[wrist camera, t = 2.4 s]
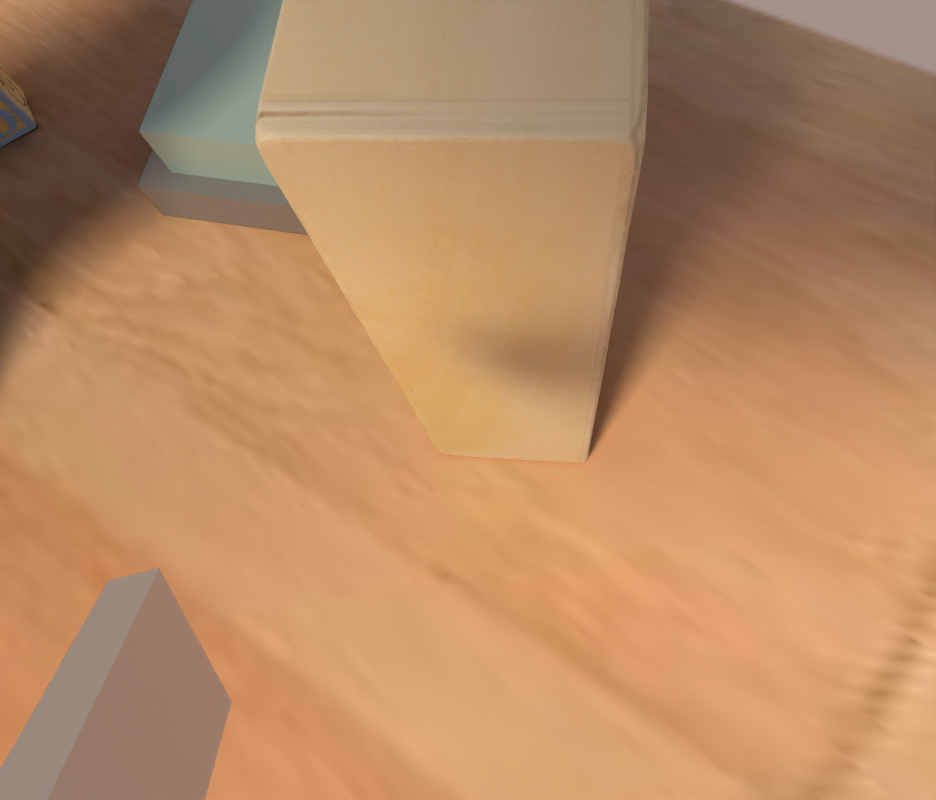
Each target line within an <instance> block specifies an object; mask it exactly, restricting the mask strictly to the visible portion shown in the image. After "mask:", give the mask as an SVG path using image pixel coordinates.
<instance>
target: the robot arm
mask: <svg viewBox="0 0 936 800" xmlns="http://www.w3.org/2000/svg"><path fill="white" fill-rule="evenodd" d="M230 705H231V700H230V698H229V696H228V694H227V693H226V691H225V689H224V687H223V685H222V683H221V681H220V680H219V678H218V676H217V674H216V672H215V670H214V669H213V667H212V665H211V663H210V661H209V659H208V657H207V656H206V654H205V652H204V650H203V648H202V646H201V644H200V643H199V641H198V639H197V637H196V635H195V633H194V632H193V630H192V628H191V626H190V624H189V622H188V620H187V619H186V617H185V615H184V613H183V611H182V609H181V608H180V606H179V604H178V602H177V600H176V598H175V596H174V595H173V593H172V591H171V589H170V587H169V585H168V583H167V582H166V580H165V578H164V576H163V574H162V572H161V571H160V569H155V570H151V571H147V572H143V573H139V574H135V575H130V576H126V577H122V578H118V579H114V580H110V581H108V582H107V584H106V585H105V587H104V589H103V591H102V592H101V594H100V596H99V598H98V599H97V601H96V603H95V605H94V606H93V608H92V610H91V612H90V613H89V615H88V617H87V619H86V620H85V622H84V624H83V626H82V627H81V629H80V631H79V633H78V634H77V636H76V638H75V640H74V641H73V643H72V645H71V647H70V648H69V650H68V652H67V654H66V655H65V657H64V659H63V661H62V662H61V664H60V666H59V668H58V669H57V671H56V673H55V675H54V676H53V678H52V680H51V682H50V683H49V685H48V687H47V689H46V690H45V692H44V694H43V696H42V697H41V699H40V701H39V703H38V704H37V706H36V708H35V710H34V711H33V713H32V715H31V717H30V718H29V720H28V722H27V724H26V725H25V727H24V729H23V731H22V732H21V734H20V736H19V738H18V739H17V741H16V743H15V745H14V746H13V748H12V750H11V752H10V753H9V755H8V757H7V759H6V760H5V762H4V764H3V766H2V767H1V769H0V800H205V797H206V793H207V790H208V786H209V782H210V779H211V775H212V771H213V768H214V764H215V760H216V756H217V753H218V749H219V745H220V742H221V738H222V734H223V731H224V727H225V723H226V720H227V716H228V712H229V709H230Z"/></svg>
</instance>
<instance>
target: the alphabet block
mask: <svg viewBox="0 0 936 800" xmlns="http://www.w3.org/2000/svg"><path fill="white" fill-rule="evenodd" d="M35 128H36V122H35V120H34V117H33V115H32V112H31V110H30V107H29V105H28V102H27V100H26V97H25V95H24V92H23V90H22V89H21V88H20V87H19V86H18V85H17V84H16V83H15V82H14V81H13V80H12V79H11V78H10V77H9V76H8V75H7V74H6V73H5V72H4V71H3V70H2V69H1V68H0V147H2V146H4V145H5V144H7V143H9V142H11V141H13V140H15V139H16V138H18V137H20V136H22V135H24V134H26V133H27V132H29V131H31V130H33V129H35Z"/></svg>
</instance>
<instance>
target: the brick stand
mask: <svg viewBox="0 0 936 800" xmlns="http://www.w3.org/2000/svg"><path fill="white" fill-rule="evenodd" d="M282 2H283V0H193V1H192V4H191V6H190V8H189V11H188V13H187V16H186V18H185V21H184V23H183V25H182V28H181V30H180V33H179V35H178V37H177V40H176V42H175V45H174V47H173V49H172V52H171V54H170V57H169V59H168V62H167V64H166V66H165V69H164V71H163V74H162V76H161V78H160V81H159V83H158V86H157V88H156V91H155V93H154V95H153V98H152V100H151V103H150V105H149V107H148V110H147V112H146V115H145V117H144V119H143V122H142V124H141V127H140V129H139V133H140V134H141V135H142V136H143V138H144V139H145V140H146V141H147V143H148V144H149V145H150V146H151V147H152V151H151V153H150V156H149V158H148V161H147V163H146V166H145V168H144V171H143V173H142V176H141V178H140V181H139V183H138V186H137V187H138V188H139V189H140V190H141V191H142V192H143V193H144V194H145V195H146V197H147V198H148V199H149V200H150V201H151V202H152V203H153V204H154V205H155V206H156V208H157V209H158V210H159V211H160V212H161V213H162V214H163V215H167V216H175V217H182V218H189V219H196V220H204V221H211V222H218V223H225V224H233V225H240V226H247V227H254V228H261V229H269V230H276V231H283V232H290V233H298V234H305V235H308V233H307V231H306V230H305V228H304V226H303V225H302V223H301V221H300V220H299V218H298V217H297V215H296V213H295V212H294V210H293V209H292V207H291V205H290V204H289V202H288V200H287V199H286V197H285V196H284V194H283V192H282V191H281V189H280V187H279V185H278V184H277V182H276V180H275V179H274V177H273V176H272V174H271V172H270V171H269V169H268V167H267V165H266V164H265V162H264V160H263V159H262V157H261V154H260V152H259V150H258V148H257V145H256V141H255V122H256V116H257V110H258V104H259V100H260V95H261V91H262V87H263V82H264V78H265V73H266V69H267V65H268V61H269V57H270V52H271V48H272V44H273V40H274V35H275V31H276V27H277V23H278V19H279V14H280V10H281V6H282Z"/></svg>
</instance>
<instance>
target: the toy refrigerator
mask: <svg viewBox="0 0 936 800" xmlns="http://www.w3.org/2000/svg"><path fill="white" fill-rule="evenodd" d="M648 34H649V0H283V2H282V6H281V10H280V14H279V19H278V23H277V27H276V31H275V35H274V40H273V44H272V48H271V52H270V57H269V61H268V65H267V69H266V73H265V78H264V82H263V87H262V91H261V95H260V100H259V104H258V110H257V116H256V122H255V141H256V145H257V148H258V150H259V152H260V154H261V157H262V159H263V160H264V162H265V164H266V165H267V167H268V169H269V171H270V172H271V174H272V176H273V177H274V179H275V180H276V182H277V184H278V185H279V187H280V189H281V191H282V192H283V194H284V196H285V197H286V199H287V200H288V202H289V204H290V205H291V207H292V209H293V210H294V212H295V213H296V215H297V217H298V218H299V220H300V221H301V223H302V225H303V226H304V228H305V230H306V231H307V233H308V235H309V236H310V238H311V240H312V242H313V243H314V245H315V247H316V248H317V250H318V252H319V253H320V255H321V257H322V258H323V260H324V262H325V264H326V265H327V267H328V269H329V270H330V272H331V274H332V275H333V277H334V279H335V280H336V282H337V284H338V285H339V287H340V289H341V291H342V292H343V294H344V296H345V297H346V299H347V301H348V302H349V304H350V306H351V307H352V309H353V311H354V312H355V314H356V315H357V317H358V319H359V320H360V322H361V324H362V325H363V327H364V328H365V330H366V332H367V333H368V335H369V336H370V338H371V340H372V341H373V343H374V345H375V347H376V348H377V350H378V352H379V353H380V355H381V357H382V358H383V360H384V361H385V363H386V365H387V366H388V368H389V370H390V371H391V373H392V375H393V376H394V378H395V379H396V381H397V383H398V384H399V386H400V388H401V389H402V391H403V393H404V395H405V396H406V398H407V400H408V401H409V403H410V405H411V406H412V408H413V410H414V412H415V413H416V415H417V417H418V418H419V420H420V422H421V423H422V425H423V427H424V429H425V430H426V432H427V434H428V436H429V438H430V439H431V441H432V443H433V444H434V446H435V448H436V450H437V451H438V452H440V453H443V454H449V455H461V456H471V457H487V458H503V459H519V460H535V461H551V462H569V463H585V462H586V461H587V459H588V454H589V448H590V443H591V437H592V432H593V426H594V421H595V416H596V411H597V405H598V400H599V395H600V390H601V385H602V379H603V373H604V368H605V362H606V356H607V351H608V345H609V339H610V334H611V328H612V323H613V318H614V312H615V307H616V302H617V297H618V291H619V286H620V280H621V274H622V268H623V262H624V256H625V251H626V245H627V239H628V233H629V228H630V223H631V218H632V213H633V208H634V203H635V197H636V192H637V187H638V182H639V177H640V171H641V165H642V159H643V153H644V147H645V139H646V120H647V102H648Z"/></svg>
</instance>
